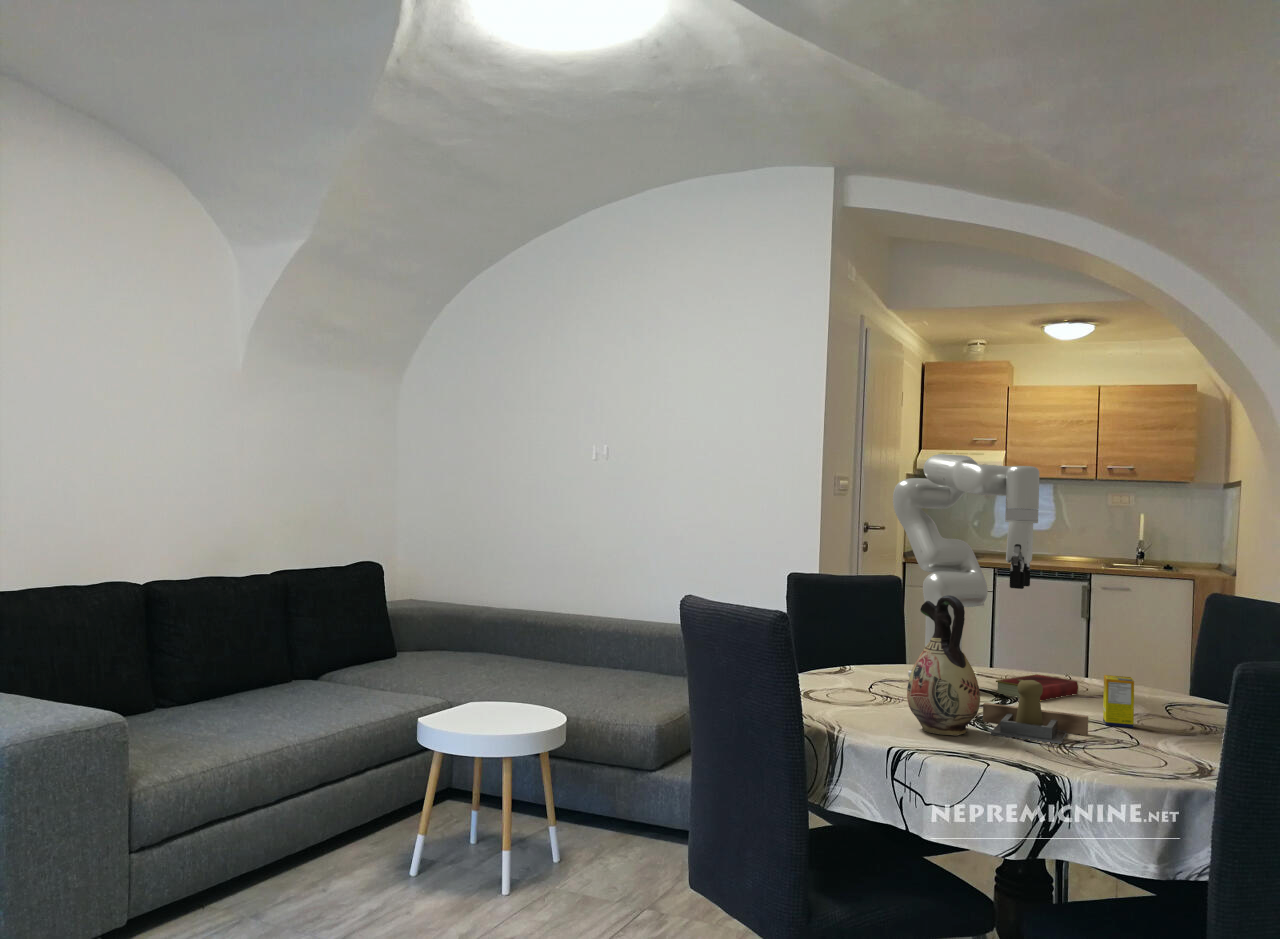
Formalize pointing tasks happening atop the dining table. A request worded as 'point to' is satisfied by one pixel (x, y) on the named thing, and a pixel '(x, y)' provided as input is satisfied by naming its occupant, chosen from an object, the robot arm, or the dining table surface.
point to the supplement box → (1118, 701)
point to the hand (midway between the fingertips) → (1019, 587)
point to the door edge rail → (1065, 720)
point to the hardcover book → (1050, 684)
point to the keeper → (1029, 730)
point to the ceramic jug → (944, 675)
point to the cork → (1029, 702)
